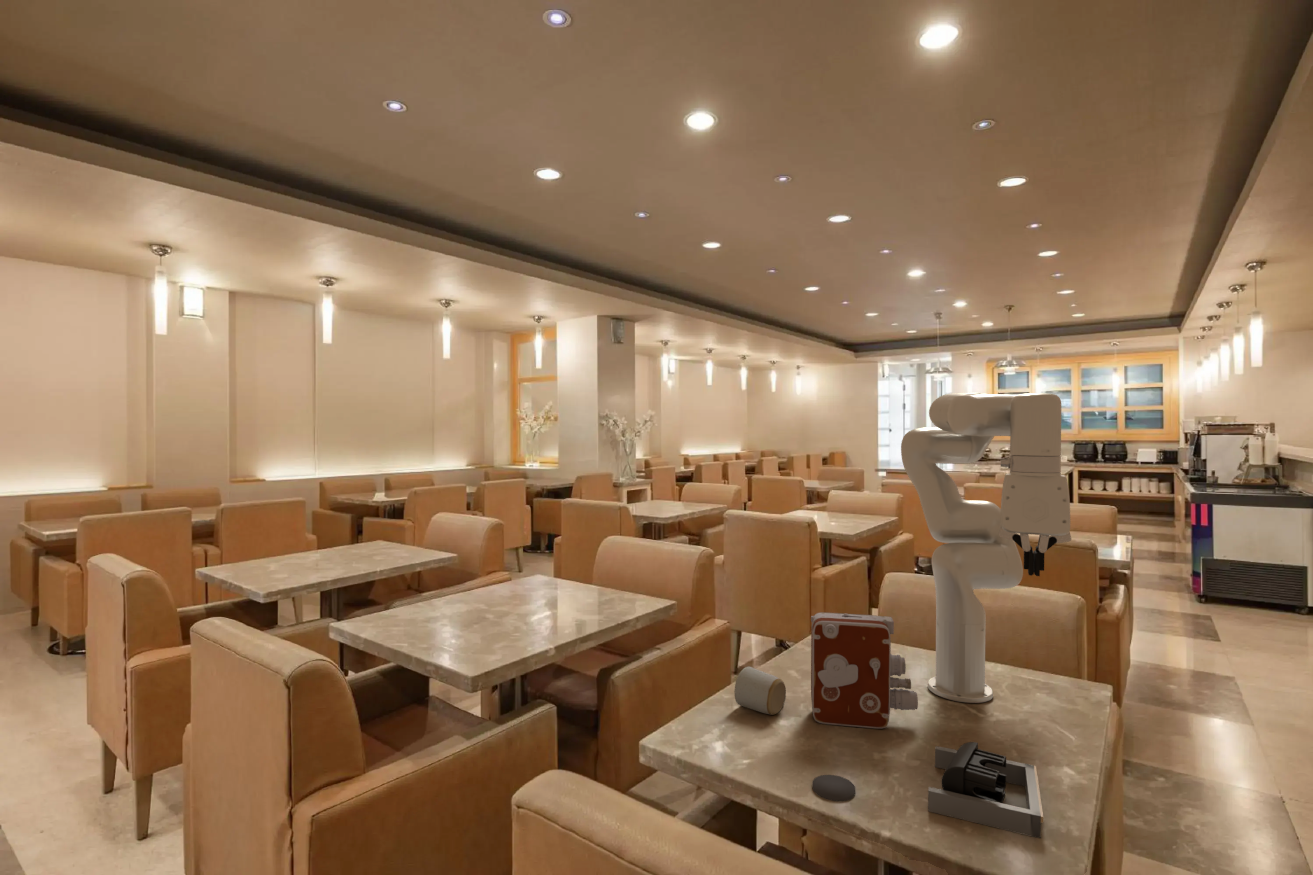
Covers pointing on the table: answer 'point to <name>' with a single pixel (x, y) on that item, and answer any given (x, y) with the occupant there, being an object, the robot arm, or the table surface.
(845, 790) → the lens cap
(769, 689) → the ceramic mug
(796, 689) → the table surface
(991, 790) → the end cap
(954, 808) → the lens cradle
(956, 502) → the robot arm
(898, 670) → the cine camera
